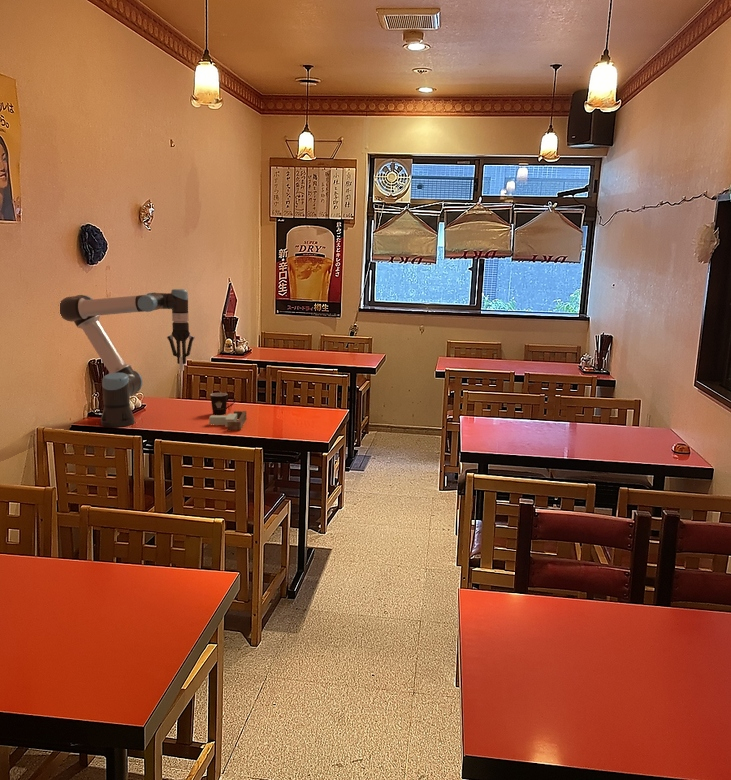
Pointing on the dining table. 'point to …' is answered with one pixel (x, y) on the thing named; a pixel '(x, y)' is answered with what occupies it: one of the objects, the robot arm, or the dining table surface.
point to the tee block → (222, 419)
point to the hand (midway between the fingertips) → (181, 370)
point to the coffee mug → (220, 403)
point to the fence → (237, 424)
